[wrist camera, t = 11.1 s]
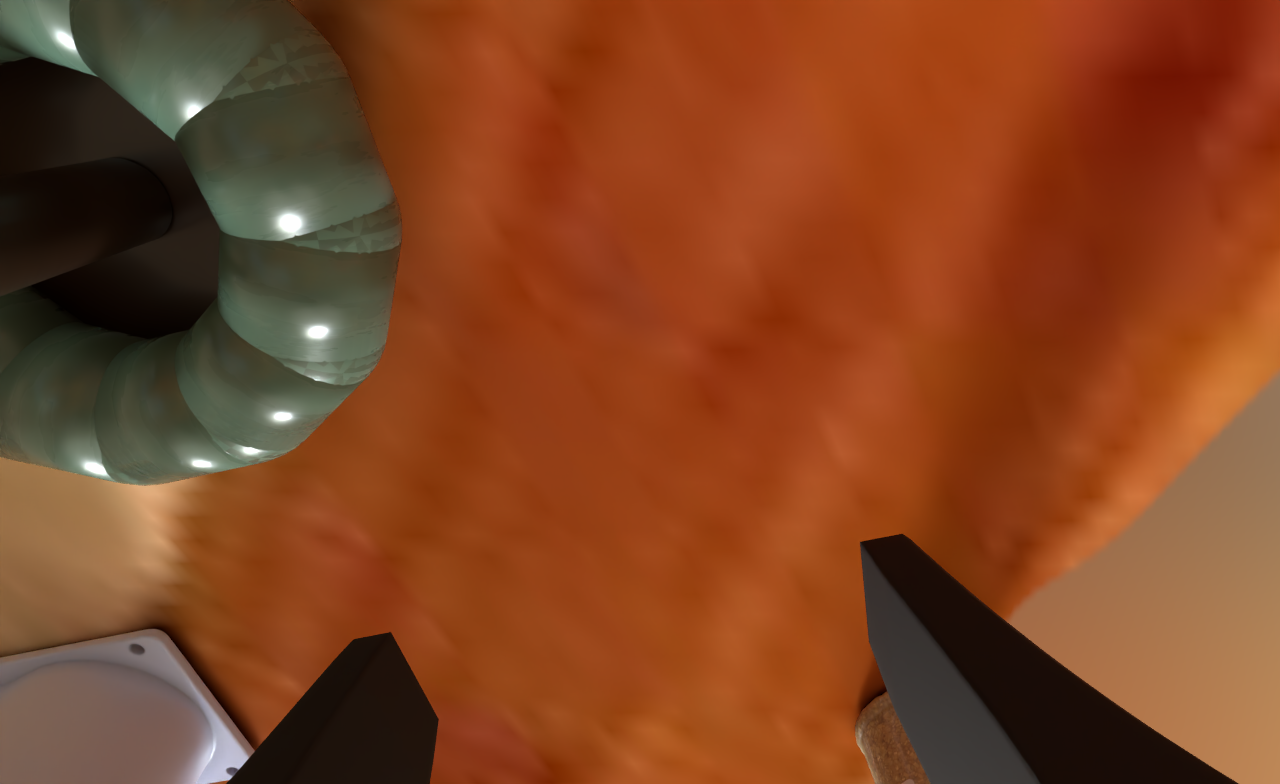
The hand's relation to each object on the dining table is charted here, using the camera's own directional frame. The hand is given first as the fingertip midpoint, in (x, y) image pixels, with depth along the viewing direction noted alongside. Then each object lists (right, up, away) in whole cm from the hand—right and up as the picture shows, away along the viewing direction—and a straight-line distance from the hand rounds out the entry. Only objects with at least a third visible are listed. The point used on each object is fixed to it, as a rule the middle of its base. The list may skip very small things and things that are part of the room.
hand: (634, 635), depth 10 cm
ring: (-12, +8, +4) cm, 15 cm away
